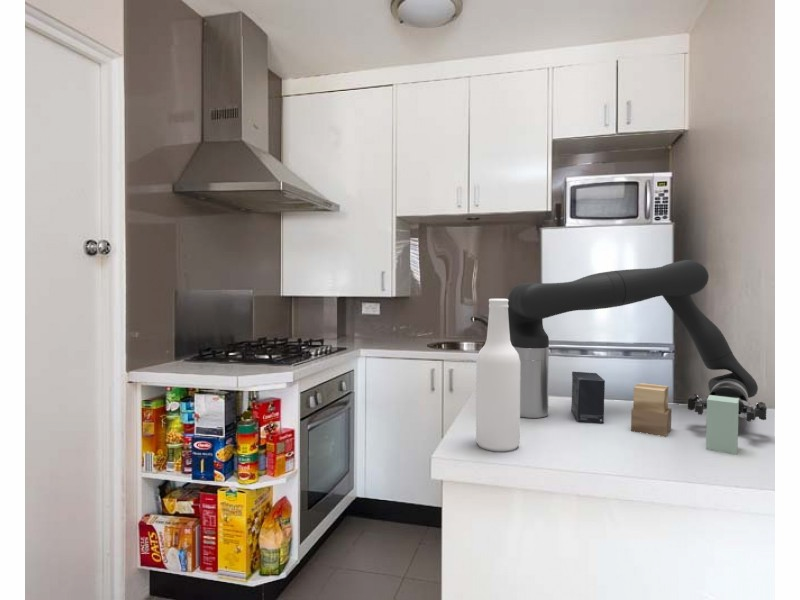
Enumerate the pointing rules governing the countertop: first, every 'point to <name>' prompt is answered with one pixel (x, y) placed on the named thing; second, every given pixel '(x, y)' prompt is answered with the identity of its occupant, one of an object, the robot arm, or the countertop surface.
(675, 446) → the countertop surface
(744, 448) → the countertop surface
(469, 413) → the countertop surface
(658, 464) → the countertop surface
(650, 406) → the oak block
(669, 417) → the walnut block
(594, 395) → the small box
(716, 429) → the sage pillar
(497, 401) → the alcohol
